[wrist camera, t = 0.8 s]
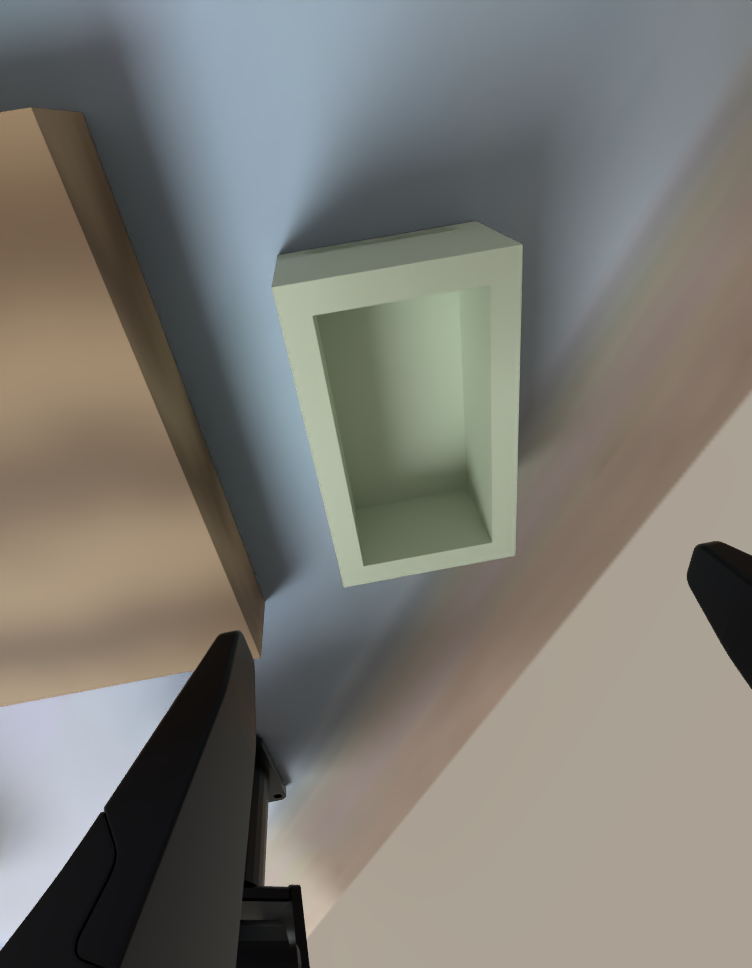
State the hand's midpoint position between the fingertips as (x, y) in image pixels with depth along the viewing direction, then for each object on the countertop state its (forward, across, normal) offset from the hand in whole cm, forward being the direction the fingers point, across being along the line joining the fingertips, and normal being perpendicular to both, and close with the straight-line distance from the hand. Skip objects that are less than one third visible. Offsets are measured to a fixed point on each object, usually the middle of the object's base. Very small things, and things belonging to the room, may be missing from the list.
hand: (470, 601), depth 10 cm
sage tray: (+10, 0, 0) cm, 10 cm away
